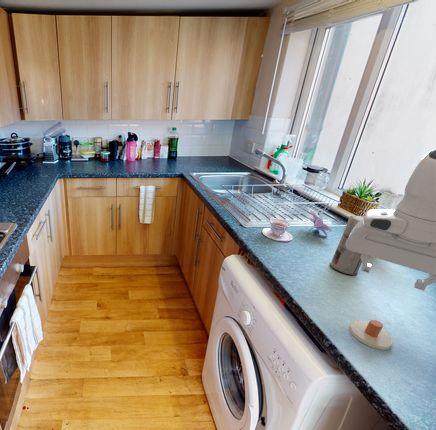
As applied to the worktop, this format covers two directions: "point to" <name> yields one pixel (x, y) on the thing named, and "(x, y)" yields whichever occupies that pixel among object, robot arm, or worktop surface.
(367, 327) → the lid
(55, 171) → the worktop surface
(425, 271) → the robot arm
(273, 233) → the teacup
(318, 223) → the lily
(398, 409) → the worktop surface
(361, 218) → the spray can
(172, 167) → the worktop surface
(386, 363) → the worktop surface
